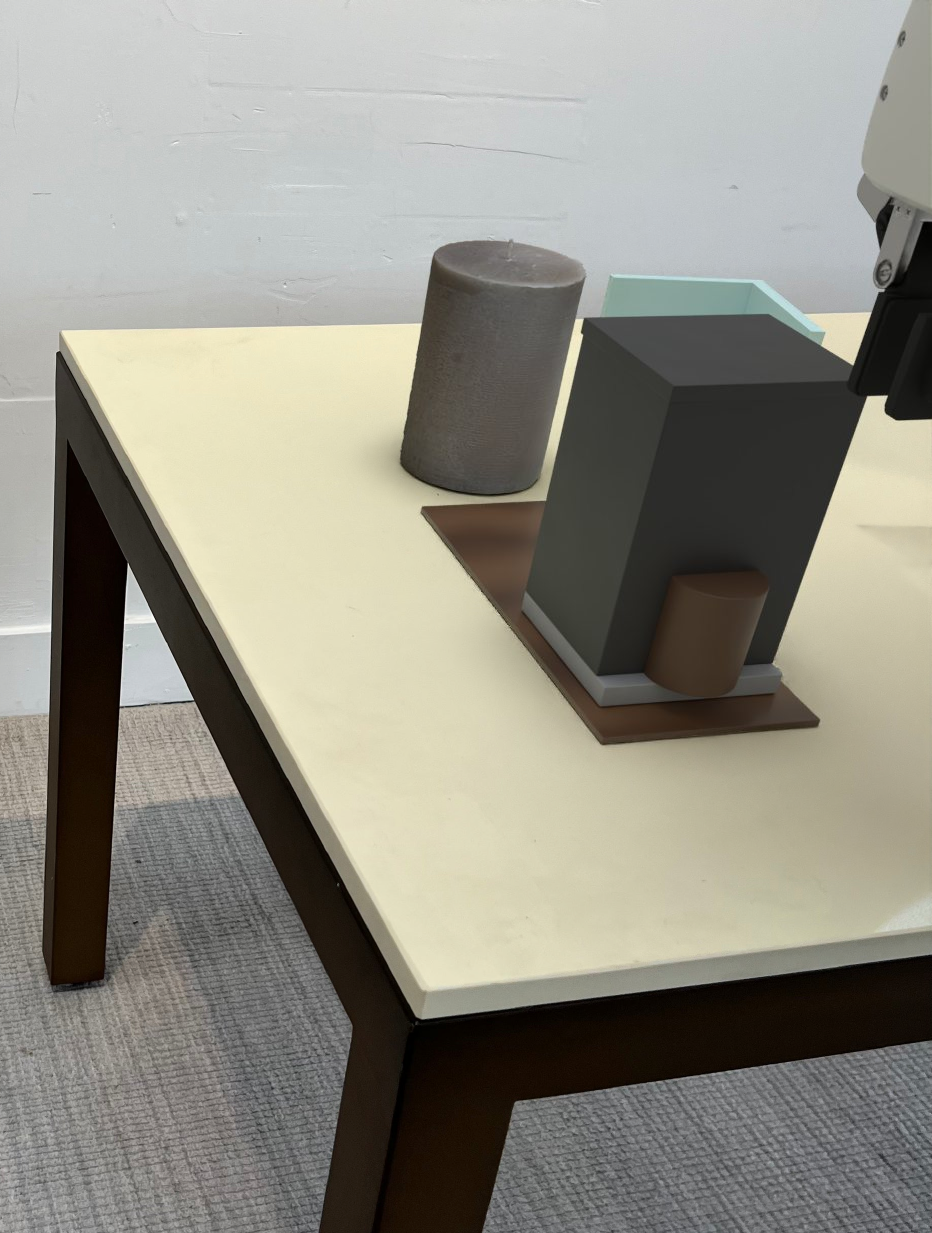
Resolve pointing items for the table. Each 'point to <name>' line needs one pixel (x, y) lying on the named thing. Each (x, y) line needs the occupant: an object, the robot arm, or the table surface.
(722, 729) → the base board
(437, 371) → the pillar candle
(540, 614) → the coffee maker
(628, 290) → the right angle wall
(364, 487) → the table surface
